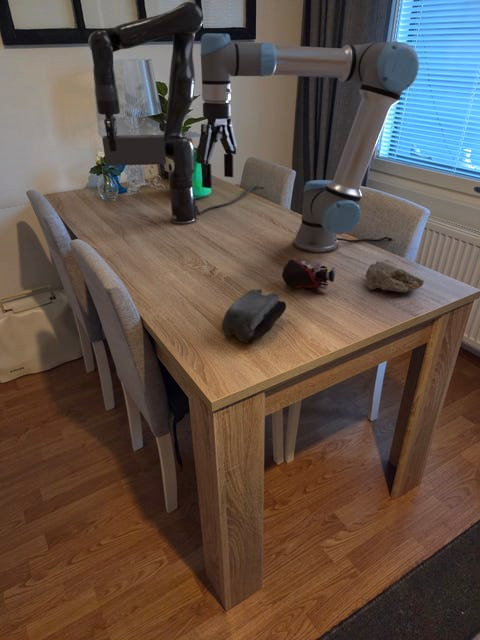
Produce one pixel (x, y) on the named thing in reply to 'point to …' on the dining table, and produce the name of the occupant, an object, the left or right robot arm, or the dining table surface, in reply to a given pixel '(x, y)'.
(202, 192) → the toy
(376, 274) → the artifact
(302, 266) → the toy
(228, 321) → the dark grey pouch
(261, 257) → the dining table surface
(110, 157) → the box
